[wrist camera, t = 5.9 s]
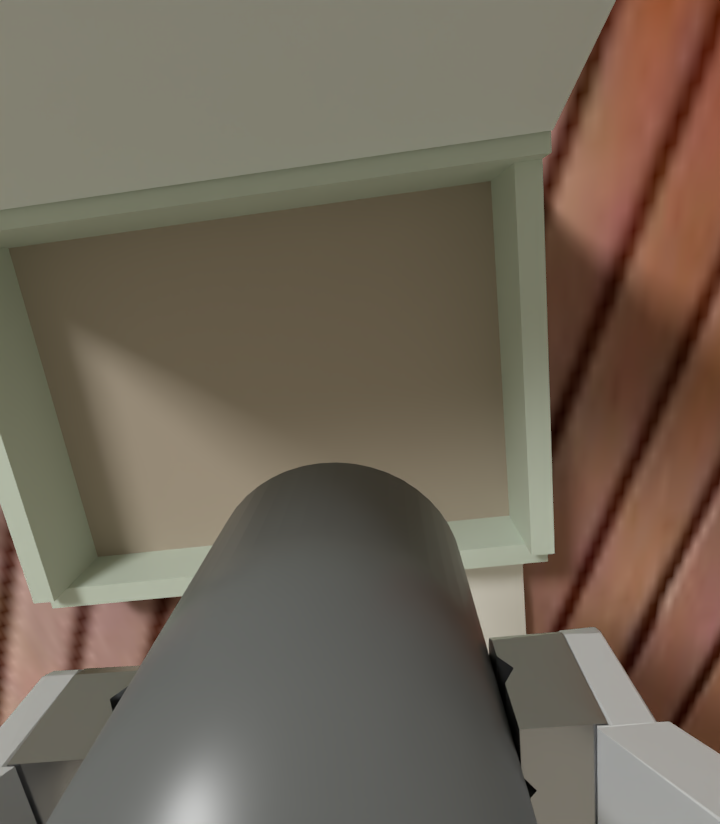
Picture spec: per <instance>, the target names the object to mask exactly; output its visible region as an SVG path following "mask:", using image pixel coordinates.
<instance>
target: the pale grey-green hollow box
mask: <svg viewBox="0 0 720 824" xmlns="http://www.w3.org/2000/svg"><path fill="white" fill-rule="evenodd" d="M615 1H616V0H0V504H1V507H2V510H3V513H4V516H5V519H6V522H7V525H8V528H9V531H10V534H11V537H12V540H13V543H14V546H15V549H16V552H17V555H18V558H19V561H20V564H21V566H22V569H23V572H24V575H25V578H26V581H27V584H28V587H29V590H30V593H31V596H32V599H33V602H34V603H44V602H51V604H52V608H62V607H73V606H83V605H94V604H104V603H115V602H125V601H136V600H147V599H157V598H168V597H178V596H183V594H184V592H185V591H186V589H187V587H188V586H189V584H190V582H191V581H192V579H193V577H194V576H195V574H196V572H197V571H198V569H199V567H200V566H201V564H202V562H203V561H204V559H205V557H206V556H207V554H208V552H209V551H210V549H211V547H212V546H213V544H214V542H215V541H216V539H217V537H218V536H219V534H220V532H221V531H222V529H223V527H224V526H225V524H226V522H227V521H228V519H229V518H230V516H231V515H232V513H233V512H234V510H235V509H236V507H237V506H238V505H239V504H240V503H241V502H242V501H243V499H244V498H245V497H246V496H247V495H248V494H250V493H251V492H252V491H253V490H254V489H256V488H257V487H258V486H259V485H261V484H263V483H264V482H266V481H268V480H269V479H271V478H272V477H275V476H277V475H279V474H281V473H283V472H286V471H288V470H292V469H295V468H298V467H301V466H306V465H312V464H318V463H334V462H339V463H351V464H358V465H363V466H368V467H372V468H375V469H378V470H381V471H384V472H387V473H389V474H391V475H393V476H395V477H398V478H400V479H402V480H403V481H405V482H407V483H408V484H410V485H411V486H413V487H414V488H416V489H417V490H418V491H420V492H421V493H422V494H423V495H424V496H425V497H427V498H428V499H429V500H430V501H431V502H432V503H433V505H434V506H435V507H436V508H437V509H438V510H439V511H440V513H441V514H442V516H443V517H444V519H445V520H446V521H447V523H448V524H449V526H450V529H451V531H452V533H453V535H454V537H455V539H456V542H457V545H458V549H459V552H460V555H461V559H462V562H463V566H464V569H473V568H484V567H494V566H505V565H516V564H526V563H537V562H547V561H548V554H555V548H554V516H553V484H552V452H551V420H550V388H549V356H548V324H547V292H546V260H545V228H544V196H543V165H542V159H543V158H544V157H546V156H547V155H549V154H550V153H552V152H551V130H553V129H554V127H555V125H556V122H557V120H558V118H559V116H560V114H561V112H562V110H563V108H564V106H565V104H566V102H567V100H568V98H569V96H570V94H571V92H572V89H573V87H574V85H575V83H576V81H577V79H578V77H579V75H580V73H581V71H582V69H583V67H584V65H585V63H586V61H587V59H588V57H589V54H590V52H591V50H592V48H593V46H594V44H595V42H596V40H597V38H598V36H599V34H600V32H601V30H602V28H603V26H604V24H605V21H606V19H607V17H608V15H609V13H610V11H611V9H612V7H613V5H614V3H615Z"/></svg>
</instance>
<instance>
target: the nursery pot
mask: <svg viewBox="0 0 720 824" xmlns="http://www.w3.org/2000/svg"><path fill="white" fill-rule="evenodd" d="M46 824H537V820H536V817H535V813H534V810H533V806H532V803H531V799H530V796H529V792H528V789H527V786H526V782H525V779H524V775H523V772H522V768H521V765H520V761H519V758H518V754H517V751H516V747H515V744H514V741H513V737H512V734H511V730H510V727H509V723H508V720H507V716H506V712H505V709H504V705H503V702H502V698H501V695H500V691H499V688H498V685H497V681H496V678H495V674H494V671H493V667H492V664H491V660H490V657H489V653H488V649H487V646H486V642H485V639H484V635H483V632H482V628H481V625H480V621H479V618H478V615H477V611H476V608H475V604H474V601H473V597H472V594H471V590H470V587H469V583H468V580H467V576H466V573H465V569H464V566H463V562H462V559H461V555H460V552H459V549H458V545H457V542H456V539H455V537H454V535H453V533H452V531H451V529H450V526H449V524H448V523H447V521H446V520H445V519H444V517H443V516H442V514H441V513H440V511H439V510H438V509H437V508H436V507H435V506H434V505H433V503H432V502H431V501H430V500H429V499H428V498H427V497H425V496H424V495H423V494H422V493H421V492H420V491H418V490H417V489H416V488H414V487H413V486H411V485H410V484H408V483H407V482H405V481H403V480H402V479H400V478H398V477H395V476H393V475H391V474H389V473H387V472H384V471H381V470H378V469H375V468H372V467H368V466H363V465H358V464H351V463H339V462H334V463H318V464H312V465H306V466H301V467H298V468H295V469H292V470H288V471H286V472H283V473H281V474H279V475H277V476H275V477H272V478H271V479H269V480H268V481H266V482H264V483H263V484H261V485H259V486H258V487H257V488H256V489H254V490H253V491H252V492H251V493H250V494H248V495H247V496H246V497H245V498H244V499H243V501H242V502H241V503H240V504H239V505H238V506H237V507H236V509H235V510H234V512H233V513H232V515H231V516H230V518H229V519H228V521H227V522H226V524H225V526H224V527H223V529H222V531H221V532H220V534H219V536H218V537H217V539H216V541H215V542H214V544H213V546H212V547H211V549H210V551H209V552H208V554H207V556H206V557H205V559H204V561H203V562H202V564H201V566H200V567H199V569H198V571H197V572H196V574H195V576H194V577H193V579H192V581H191V582H190V584H189V586H188V587H187V589H186V591H185V592H184V594H183V596H182V597H181V599H180V601H179V602H178V604H177V606H176V607H175V609H174V611H173V612H172V614H171V616H170V617H169V619H168V621H167V622H166V624H165V626H164V627H163V629H162V631H161V632H160V634H159V636H158V637H157V639H156V641H155V642H154V644H153V645H152V647H151V649H150V650H149V652H148V654H147V655H146V657H145V659H144V660H143V662H142V664H141V665H140V667H139V669H138V670H137V672H136V674H135V675H134V677H133V679H132V680H131V682H130V684H129V685H128V687H127V689H126V690H125V692H124V694H123V695H122V697H121V699H120V700H119V702H118V704H117V705H116V707H115V709H114V710H113V712H112V714H111V715H110V717H109V719H108V720H107V722H106V724H105V725H104V727H103V729H102V730H101V732H100V734H99V735H98V737H97V739H96V740H95V742H94V744H93V745H92V747H91V749H90V750H89V752H88V754H87V755H86V757H85V759H84V760H83V762H82V764H81V765H80V767H79V769H78V770H77V772H76V774H75V775H74V777H73V779H72V780H71V782H70V784H69V785H68V787H67V789H66V790H65V792H64V794H63V795H62V797H61V799H60V800H59V802H58V804H57V805H56V807H55V809H54V810H53V812H52V814H51V815H50V817H49V819H48V820H47V822H46Z"/></svg>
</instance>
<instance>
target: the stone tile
mask: <svg viewBox="0 0 720 824" xmlns="http://www.w3.org/2000/svg"><path fill="white" fill-rule="evenodd" d="M465 573H466V576H467V580H468V583H469V587H470V590H471V594H472V597H473V601H474V604H475V608H476V611H477V615H478V618H479V621H480V625H481V628H482V632H483V635H484V639H485V642H486V646H487V649H488V653H489V638H492V637H503V636H515V635H526V621H525V601H524V581H523V564H516V565H505V566H494V567H484V568H473V569H465Z"/></svg>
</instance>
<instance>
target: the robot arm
mask: <svg viewBox="0 0 720 824" xmlns="http://www.w3.org/2000/svg"><path fill="white" fill-rule="evenodd" d="M489 657H490V660H491V664H492V667H493V671H494V674H495V678H496V681H497V685H498V688H499V691H500V695H501V698H502V702H503V705H504V709H505V712H506V716H507V720H508V723H509V727H510V730H511V734H512V737H513V741H514V744H515V747H516V751H517V754H518V758H519V761H520V765H521V768H522V772H523V775H524V779H525V782H526V786H527V789H528V792H529V796H530V799H531V803H532V806H533V810H534V813H535V817H536V820H537V824H720V754H719V753H718V752H716V751H715V750H713V749H711V748H710V747H708V746H707V745H705V744H704V743H702V742H701V741H699V740H698V739H696V738H694V737H693V736H691V735H690V734H688V733H687V732H685V731H684V730H682V729H680V728H679V727H677V726H676V725H674V724H673V723H671V722H657V721H656V719H655V718H654V716H653V715H652V713H651V711H650V710H649V708H648V707H647V705H646V703H645V702H644V700H643V699H642V697H641V695H640V694H639V692H638V691H637V689H636V687H635V686H634V684H633V683H632V681H631V679H630V678H629V676H628V675H627V673H626V671H625V670H624V668H623V666H622V665H621V663H620V662H619V660H618V658H617V657H616V655H615V654H614V652H613V650H612V649H611V647H610V646H609V644H608V642H607V641H606V639H605V638H604V636H603V634H602V633H601V631H599V630H598V629H597V628H595V627H589V628H580V629H570V630H561V631H559V632H549V633H537V634H526V635H515V636H503V637H492V638H489ZM139 667H140V666H125V667H107V668H89V669H84V670H65V671H53V672H51V673H49V674H47V675H45V676H43V677H42V678H41V679H40V680H39V682H38V683H37V684H36V685H35V686H34V688H33V689H32V690H31V691H30V692H29V694H28V695H27V696H26V697H25V698H24V700H23V701H22V702H21V703H20V704H19V706H18V707H17V708H16V709H15V710H14V712H13V713H12V714H11V715H10V716H9V718H8V719H7V720H6V721H5V722H4V724H3V725H2V726H1V727H0V824H46V822H47V820H48V819H49V817H50V815H51V814H52V812H53V810H54V809H55V807H56V805H57V804H58V802H59V800H60V799H61V797H62V795H63V794H64V792H65V790H66V789H67V787H68V785H69V784H70V782H71V780H72V779H73V777H74V775H75V774H76V772H77V770H78V769H79V767H80V765H81V764H82V762H83V760H84V759H85V757H86V755H87V754H88V752H89V750H90V749H91V747H92V745H93V744H94V742H95V740H96V739H97V737H98V735H99V734H100V732H101V730H102V729H103V727H104V725H105V724H106V722H107V720H108V719H109V717H110V715H111V714H112V712H113V710H114V709H115V707H116V705H117V704H118V702H119V700H120V699H121V697H122V695H123V694H124V692H125V690H126V689H127V687H128V685H129V684H130V682H131V680H132V679H133V677H134V675H135V674H136V672H137V670H138V669H139Z"/></svg>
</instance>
